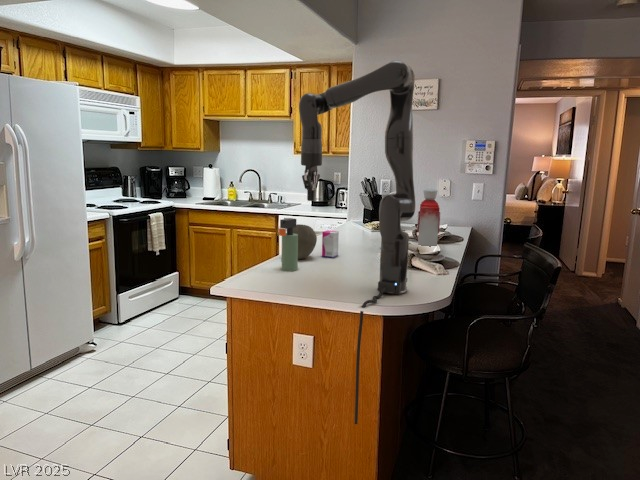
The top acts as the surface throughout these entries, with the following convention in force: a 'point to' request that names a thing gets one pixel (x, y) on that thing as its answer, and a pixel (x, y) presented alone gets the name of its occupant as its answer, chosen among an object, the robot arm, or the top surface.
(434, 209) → the bottle
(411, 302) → the top surface
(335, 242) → the supplement box
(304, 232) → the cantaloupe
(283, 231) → the trigger
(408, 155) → the robot arm
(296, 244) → the spray bottle
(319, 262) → the top surface
